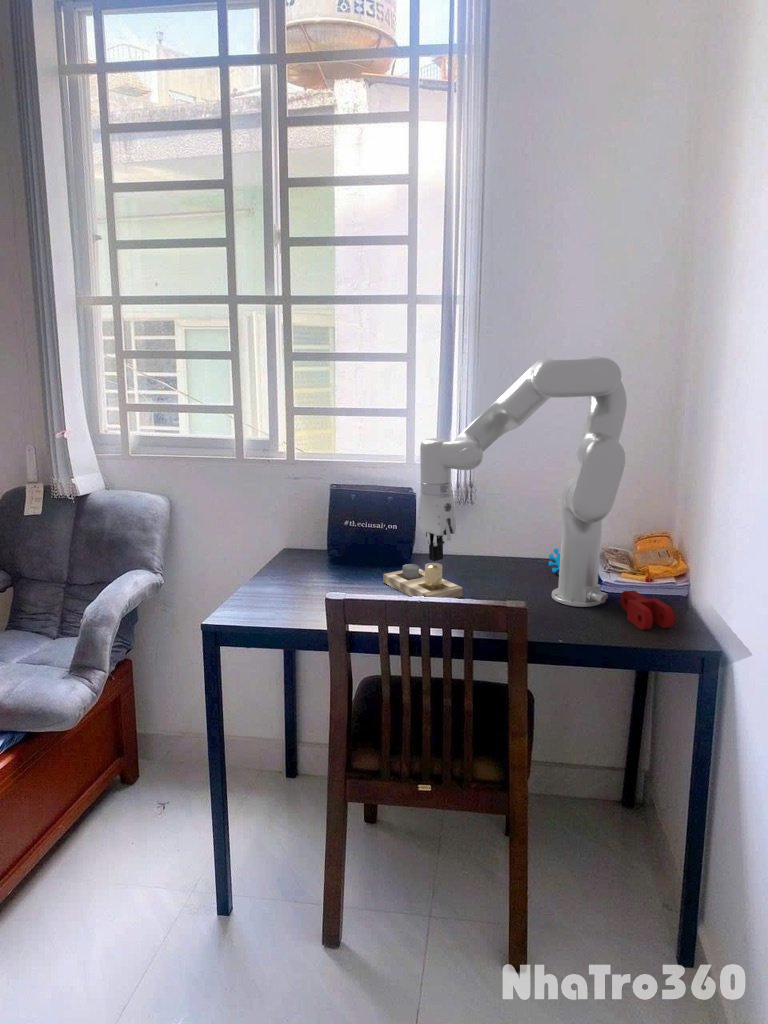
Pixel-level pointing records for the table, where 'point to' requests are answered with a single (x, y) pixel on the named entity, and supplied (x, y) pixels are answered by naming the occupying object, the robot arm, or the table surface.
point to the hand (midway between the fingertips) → (436, 559)
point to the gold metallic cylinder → (433, 576)
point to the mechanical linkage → (646, 611)
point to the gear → (555, 560)
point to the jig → (418, 583)
